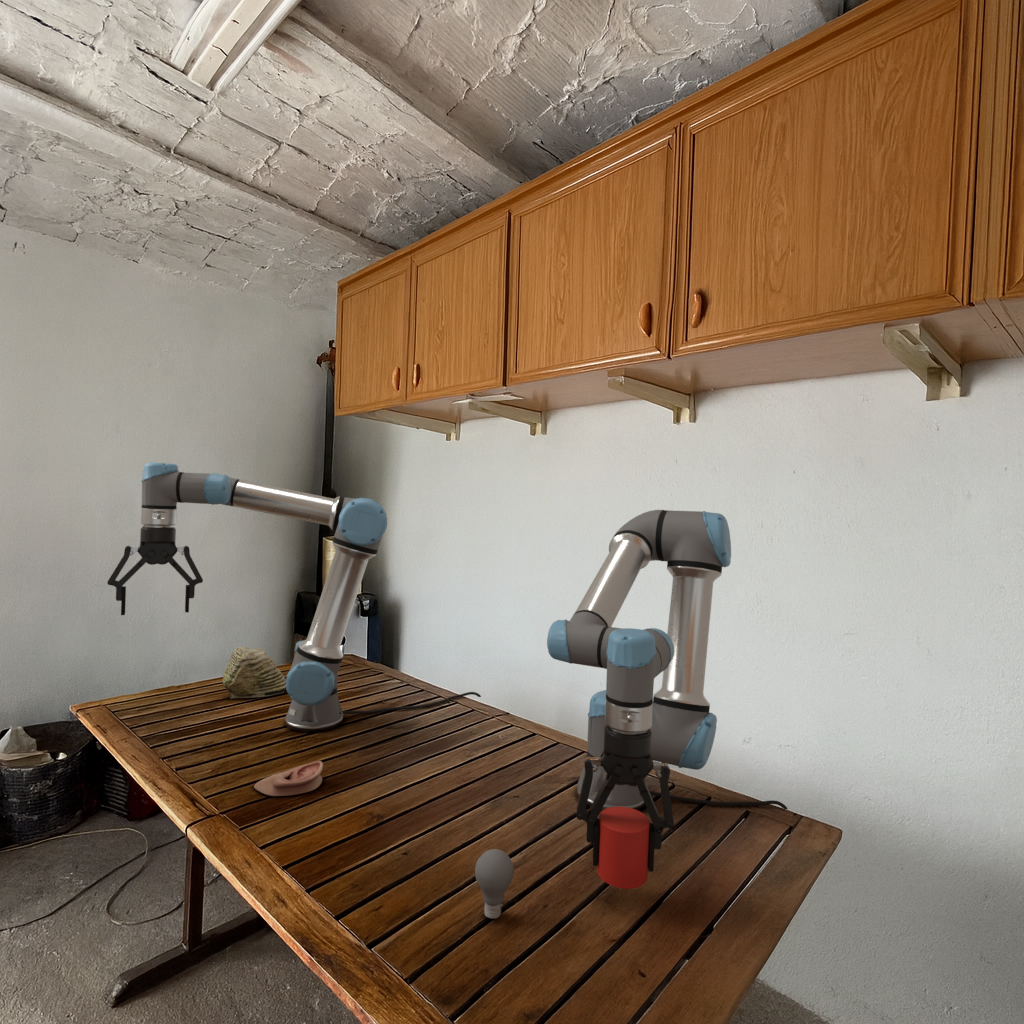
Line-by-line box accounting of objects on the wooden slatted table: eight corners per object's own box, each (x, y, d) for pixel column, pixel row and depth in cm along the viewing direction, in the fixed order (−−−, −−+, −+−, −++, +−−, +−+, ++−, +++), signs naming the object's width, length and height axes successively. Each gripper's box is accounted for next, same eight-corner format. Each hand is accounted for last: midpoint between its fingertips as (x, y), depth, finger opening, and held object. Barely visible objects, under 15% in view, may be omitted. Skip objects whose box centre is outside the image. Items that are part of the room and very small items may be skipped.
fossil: (218, 695, 195) (220, 647, 195) (278, 685, 208) (279, 640, 207) (228, 703, 189) (230, 653, 188) (289, 692, 201) (290, 645, 201)
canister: (622, 895, 98) (624, 838, 97) (586, 868, 104) (588, 814, 104) (658, 878, 102) (660, 823, 102) (622, 853, 109) (624, 801, 109)
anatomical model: (246, 773, 134) (276, 753, 145) (245, 792, 134) (276, 770, 145) (303, 782, 131) (330, 760, 142) (302, 801, 131) (329, 777, 142)
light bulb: (472, 903, 100) (475, 841, 100) (510, 903, 101) (513, 841, 101) (473, 929, 94) (476, 863, 94) (513, 928, 95) (516, 862, 95)
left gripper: (96, 526, 145) (93, 618, 145) (216, 528, 157) (213, 613, 158) (98, 524, 152) (96, 612, 152) (213, 526, 164) (210, 607, 164)
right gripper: (562, 730, 100) (557, 870, 101) (698, 740, 97) (692, 884, 98) (564, 713, 107) (559, 844, 108) (690, 723, 105) (684, 857, 106)
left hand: (155, 613), depth 155 cm, fingers open, 13 cm apart
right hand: (622, 863), depth 103 cm, fingers closed on canister, 8 cm apart
